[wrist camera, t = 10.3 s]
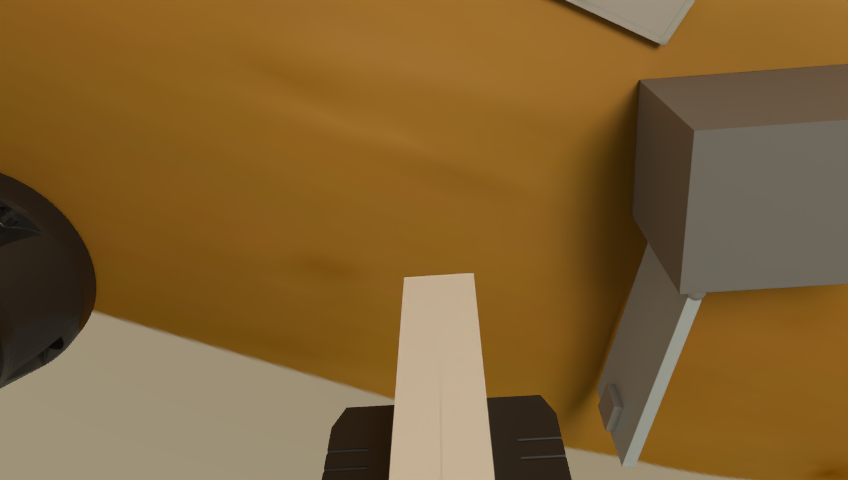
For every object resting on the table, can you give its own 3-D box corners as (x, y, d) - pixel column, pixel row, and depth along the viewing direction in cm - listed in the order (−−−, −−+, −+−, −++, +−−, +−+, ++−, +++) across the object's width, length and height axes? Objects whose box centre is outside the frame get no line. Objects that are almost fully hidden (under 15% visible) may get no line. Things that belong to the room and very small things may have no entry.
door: (645, 223, 45) (682, 282, 38) (667, 226, 45) (709, 286, 39) (588, 388, 51) (612, 464, 44) (608, 391, 51) (635, 468, 44)
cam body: (632, 218, 47) (685, 306, 37) (639, 79, 43) (701, 137, 33) (929, 198, 46) (1066, 283, 36) (966, 55, 42) (1130, 106, 32)
